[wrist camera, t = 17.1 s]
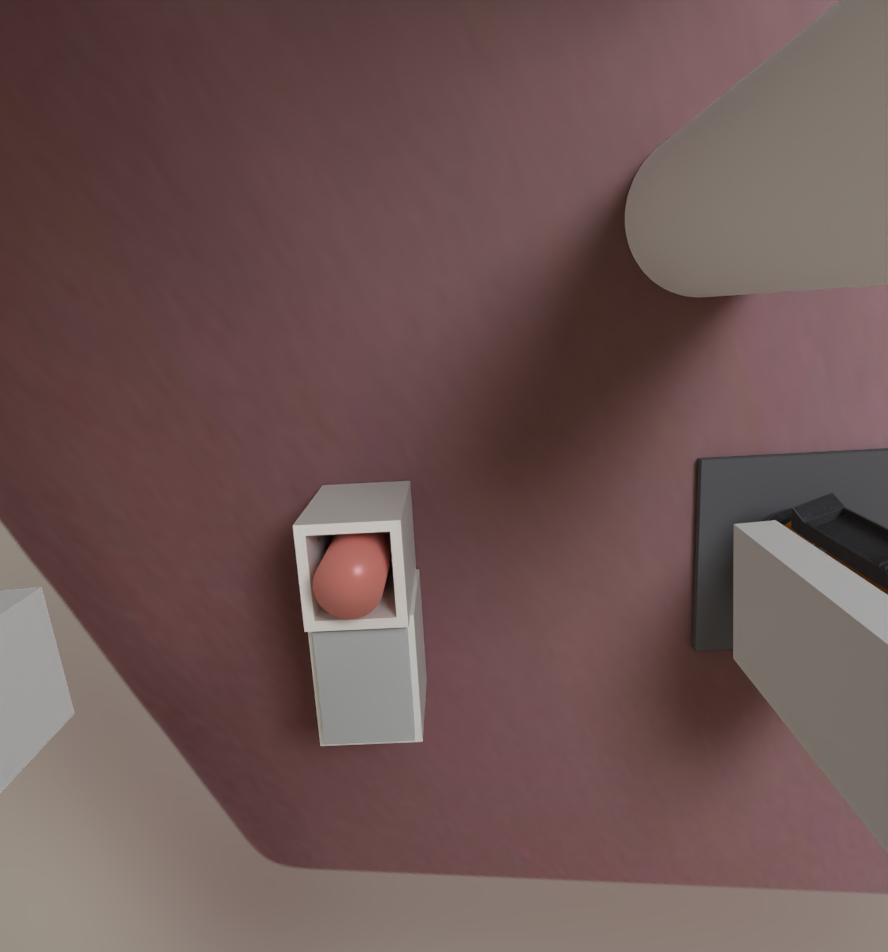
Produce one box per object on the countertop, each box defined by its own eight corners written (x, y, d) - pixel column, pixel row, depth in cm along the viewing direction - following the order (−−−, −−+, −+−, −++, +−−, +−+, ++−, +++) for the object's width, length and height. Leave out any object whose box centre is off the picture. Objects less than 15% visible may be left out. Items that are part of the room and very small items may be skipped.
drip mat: (698, 458, 43) (701, 460, 42) (907, 447, 43) (914, 449, 42) (692, 647, 46) (695, 651, 45) (887, 638, 46) (893, 642, 45)
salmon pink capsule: (335, 510, 42) (309, 554, 34) (393, 507, 42) (380, 551, 34) (340, 565, 43) (316, 620, 35) (397, 562, 43) (385, 617, 35)
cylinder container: (758, 312, 41) (1535, 310, 12) (605, 278, 40) (1012, 185, 11) (810, 146, 39) (1927, -374, 9) (650, 107, 38) (1298, -558, 9)
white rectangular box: (319, 485, 43) (288, 525, 35) (413, 480, 43) (404, 519, 35) (339, 683, 47) (315, 762, 38) (426, 679, 47) (421, 758, 38)
